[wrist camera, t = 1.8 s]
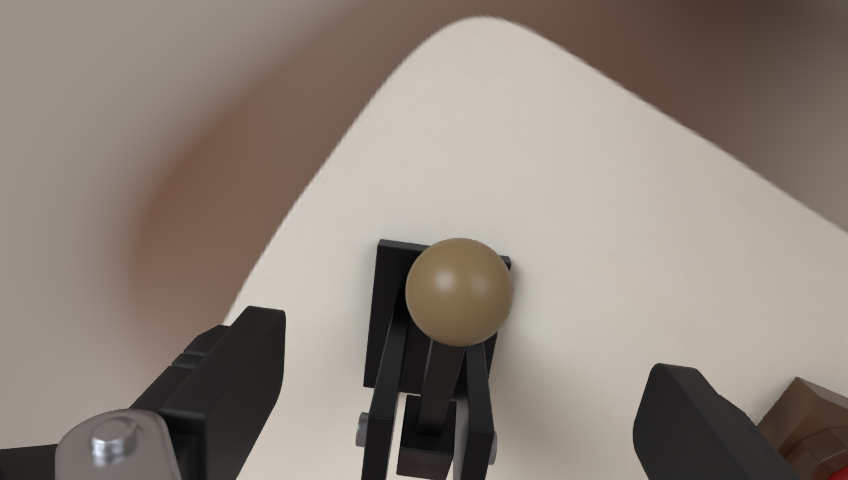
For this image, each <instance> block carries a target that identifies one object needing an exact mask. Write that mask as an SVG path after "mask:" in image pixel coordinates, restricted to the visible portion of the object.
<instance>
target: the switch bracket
mask: <svg viewBox="0 0 848 480" xmlns="http://www.w3.org/2000/svg"><path fill="white" fill-rule="evenodd" d="M429 247H430V246H427V245H420V244H413V243H405V242H398V241H391V240H383V239H380V241H379V244H378V246H377V256H376V266H375V275H374V285H373V295H372V304H371V314H370V324H369V333H368V343H367V353H366V362H365V372H364V382H363V386H364V387H369V388H375V389H374V393H373V398H372V402H371V406H370V410H369V413H364V412H361V414H360V418H359V422H358V428H357V434H356V446H359V447H365V449H364V458H363V467H362V476H361V480H386V478H387V471H388V465H389V458H390V452H391V445H392V439H393V432H394V426H395V419H396V413H397V407H398V400H399V394H400V392H405V393H412V394H420V395H421V391H422V386H423V380H424V375H425V369H426V363H427V358H428V352H429V347H430V341H431V338H430V337H429V336H427V335H426V334H425V333H424V332H423V331H422V330H421V329H420V328H419V327H418V326H417V325H416V323H415V322H414V320H413V319H412V317H411V315H410V312H409V310H408V306H407V302H406V282H407V278H408V274H409V272H410V269H411V267H412V265H413V264H414V262H415V261H416V259H417V258H418V257H419V256H420V255H421V254H422V253H423V252H424V251H425V250H426V249H427V248H429ZM499 256H500V255H499ZM500 257H501V259H502V260H503V261H504V263H505V264H506V266H507V268H508V270H509V272H510V267H511V262H510V259H509V257H508V256H500ZM497 333H498V331H497V332H496V333H495V334H494V335H492V336H491V337H490V338H488V339H486V340H485V341H482V342H480V343H477V344H474V345H470V346H466V348H465V352H464V356H463V359H462V363H461V367H460V370H459V374H458V378H457V382H456V385H455V389H454V393H453V396H452V400H453V401H456V402H457V409H456V428H455V446H454V457H453V480H485V478H486V473H487V468H488V464H489V465H493V464H494V462H495V459H496V453H497V434H496V431H494V423H493V415H492V407H491V399H490V391H489V383H488V378H489V373H490V368H491V363H492V358H493V353H494V348H495V343H496V338H497Z"/></svg>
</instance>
